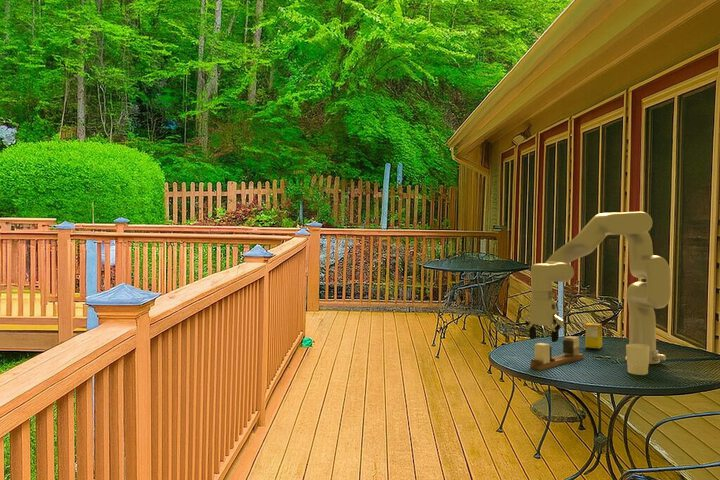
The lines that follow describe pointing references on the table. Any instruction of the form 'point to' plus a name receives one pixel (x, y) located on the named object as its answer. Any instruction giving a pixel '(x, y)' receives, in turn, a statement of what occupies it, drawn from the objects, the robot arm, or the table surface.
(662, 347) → the table surface
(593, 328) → the supplement box
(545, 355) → the cream brown block
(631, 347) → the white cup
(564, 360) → the rail
